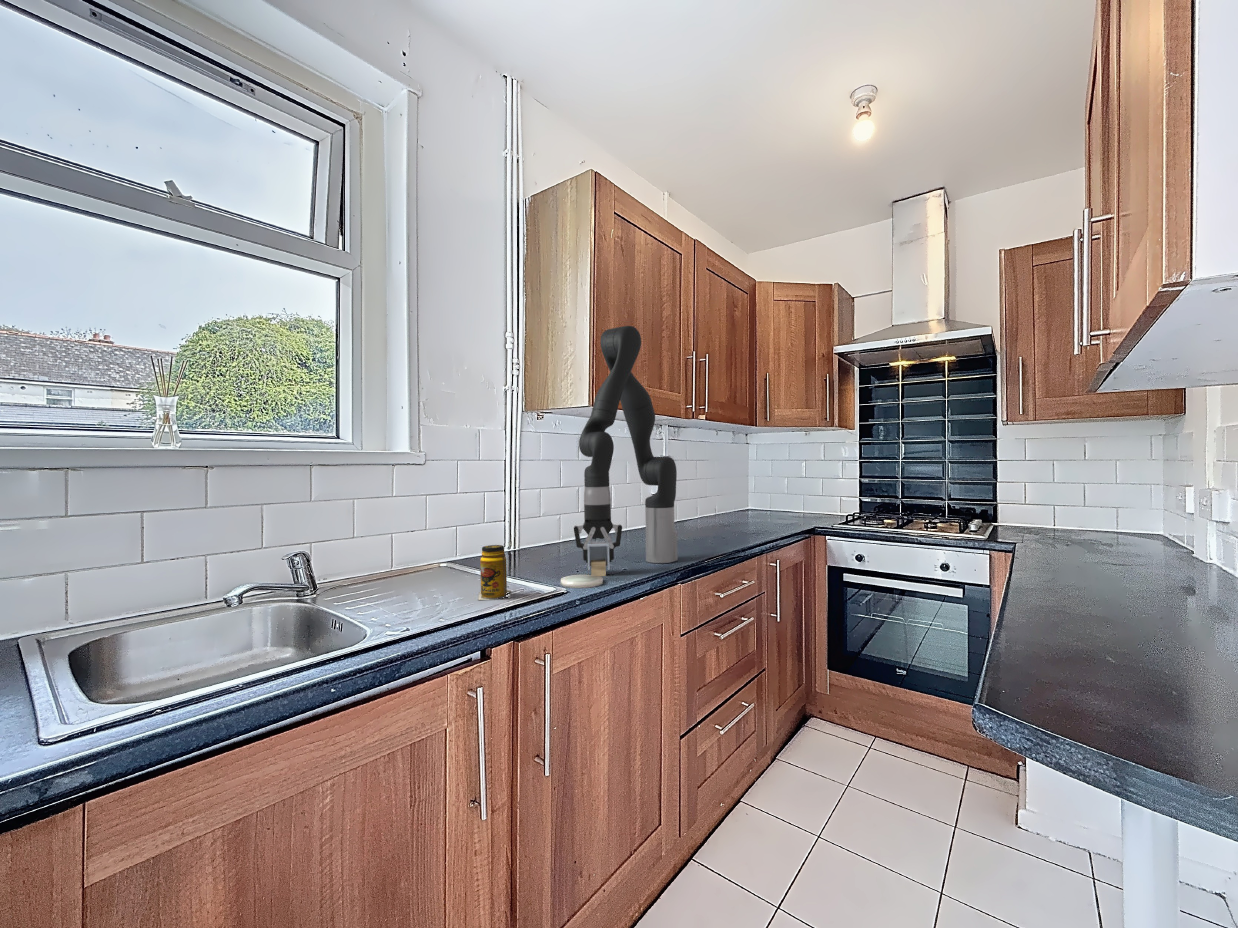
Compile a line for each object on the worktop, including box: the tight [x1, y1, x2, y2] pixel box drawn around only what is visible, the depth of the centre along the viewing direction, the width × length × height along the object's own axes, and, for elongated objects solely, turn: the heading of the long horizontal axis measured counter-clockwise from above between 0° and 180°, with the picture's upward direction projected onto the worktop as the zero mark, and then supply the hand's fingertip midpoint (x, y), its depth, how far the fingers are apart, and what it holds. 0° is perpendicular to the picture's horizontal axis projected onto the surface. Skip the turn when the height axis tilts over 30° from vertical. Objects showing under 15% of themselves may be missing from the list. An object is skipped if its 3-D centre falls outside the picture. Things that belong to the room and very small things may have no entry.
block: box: [590, 560, 607, 577], centre depth 157 cm, size 4×4×4 cm
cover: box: [587, 540, 611, 571], centre depth 158 cm, size 6×6×7 cm
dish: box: [560, 574, 604, 589], centre depth 146 cm, size 11×11×1 cm
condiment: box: [478, 544, 511, 601], centre depth 133 cm, size 7×8×12 cm
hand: (598, 561), depth 158 cm, fingers closed on cover, 6 cm apart
